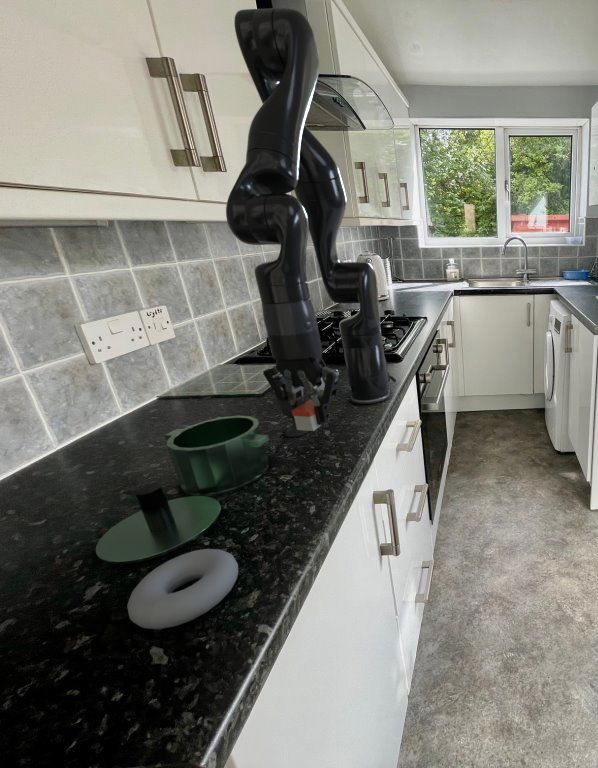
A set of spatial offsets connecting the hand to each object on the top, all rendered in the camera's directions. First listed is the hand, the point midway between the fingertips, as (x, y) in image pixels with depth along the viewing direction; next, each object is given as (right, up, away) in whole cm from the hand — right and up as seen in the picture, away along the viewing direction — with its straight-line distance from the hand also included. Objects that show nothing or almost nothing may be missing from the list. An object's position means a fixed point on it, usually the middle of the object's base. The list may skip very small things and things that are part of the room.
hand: (313, 422), depth 73 cm
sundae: (-10, -4, +14) cm, 17 cm away
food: (0, 0, 0) cm, 0 cm away
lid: (-13, -13, -16) cm, 25 cm away
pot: (-14, -9, -2) cm, 17 cm away
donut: (-1, -18, -26) cm, 32 cm away
